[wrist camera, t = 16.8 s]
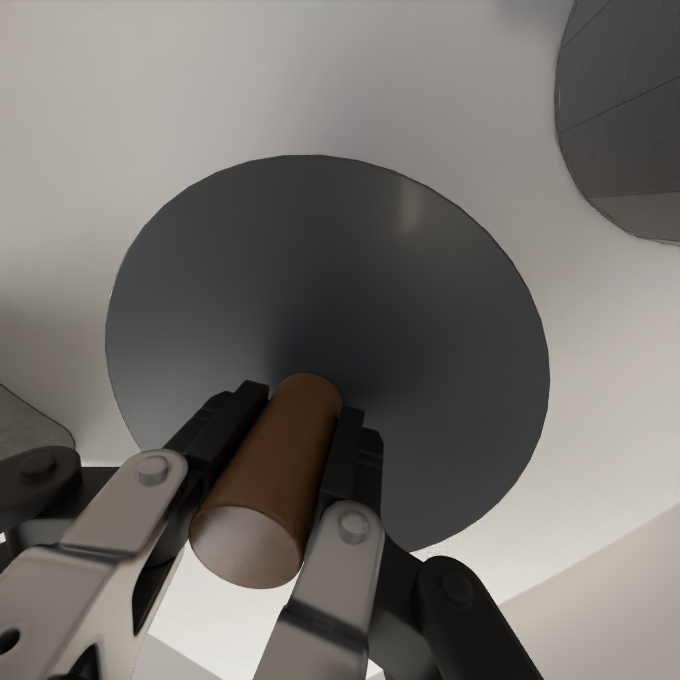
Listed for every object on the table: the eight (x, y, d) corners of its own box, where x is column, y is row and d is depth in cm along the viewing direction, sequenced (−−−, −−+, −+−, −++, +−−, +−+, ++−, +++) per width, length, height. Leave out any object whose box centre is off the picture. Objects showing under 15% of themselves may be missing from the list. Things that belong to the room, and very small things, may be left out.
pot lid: (117, 111, 10) (-270, -19, 4) (629, 221, 10) (1045, 250, 3) (132, 484, 16) (-25, 649, 10) (451, 576, 15) (487, 819, 9)
